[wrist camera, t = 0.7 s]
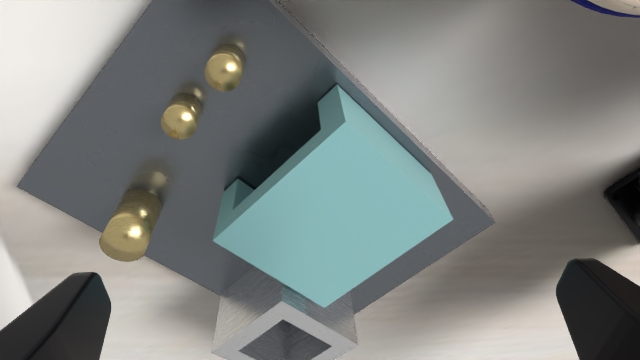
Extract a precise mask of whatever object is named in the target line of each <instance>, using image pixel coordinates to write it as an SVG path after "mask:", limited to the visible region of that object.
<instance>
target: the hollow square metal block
mask: <svg viewBox="0 0 640 360" xmlns="http://www.w3.org/2000/svg"><path fill="white" fill-rule="evenodd" d="M357 345H358V341H357V334H356V327H355V320H354V314H353V307H352V300H351V293H350V291H348V292H347V293H346V294H344V295H343V296H341V297H340V298H338V299H337V300H335V301H334V302H332V303H331V304H329V305H328V306H327V307H325V308H324V307H322V306H320V305H319V304H317V303H315V302H314V301H312V300H310V299H309V298H307V297H305V296H304V295H302V294H300V293H299V292H297V291H295V290H294V289H292V288H290V287H289V286H287V285H285V284H284V283H282V282H280V281H279V280H277V279H275V278H274V277H272V276H270V275H269V274H267V273H265V272H264V271H262V270H260V269H259V268H257V267H255V266H254V267H253V268H252V269H251V270H249V271H248V272H247V273H246V274H245V275H243V276H242V277H241V278H240V279H238V280H237V281H236V282H235V283H233V284H232V285H231V286H230V287H228V288H227V289H226V290H225V291H224V292H222V293H221V298H220V304H219V310H218V316H217V322H216V328H215V334H214V340H213V346H212V352H211V353H213V354H216V355H218V356H220V357H222V358H224V359H227V360H334V359H336V358H338V357H339V356H341V355H343V354H344V353H346V352H347V351H349V350H351V349H352V348H354V347H356V346H357Z"/></svg>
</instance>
